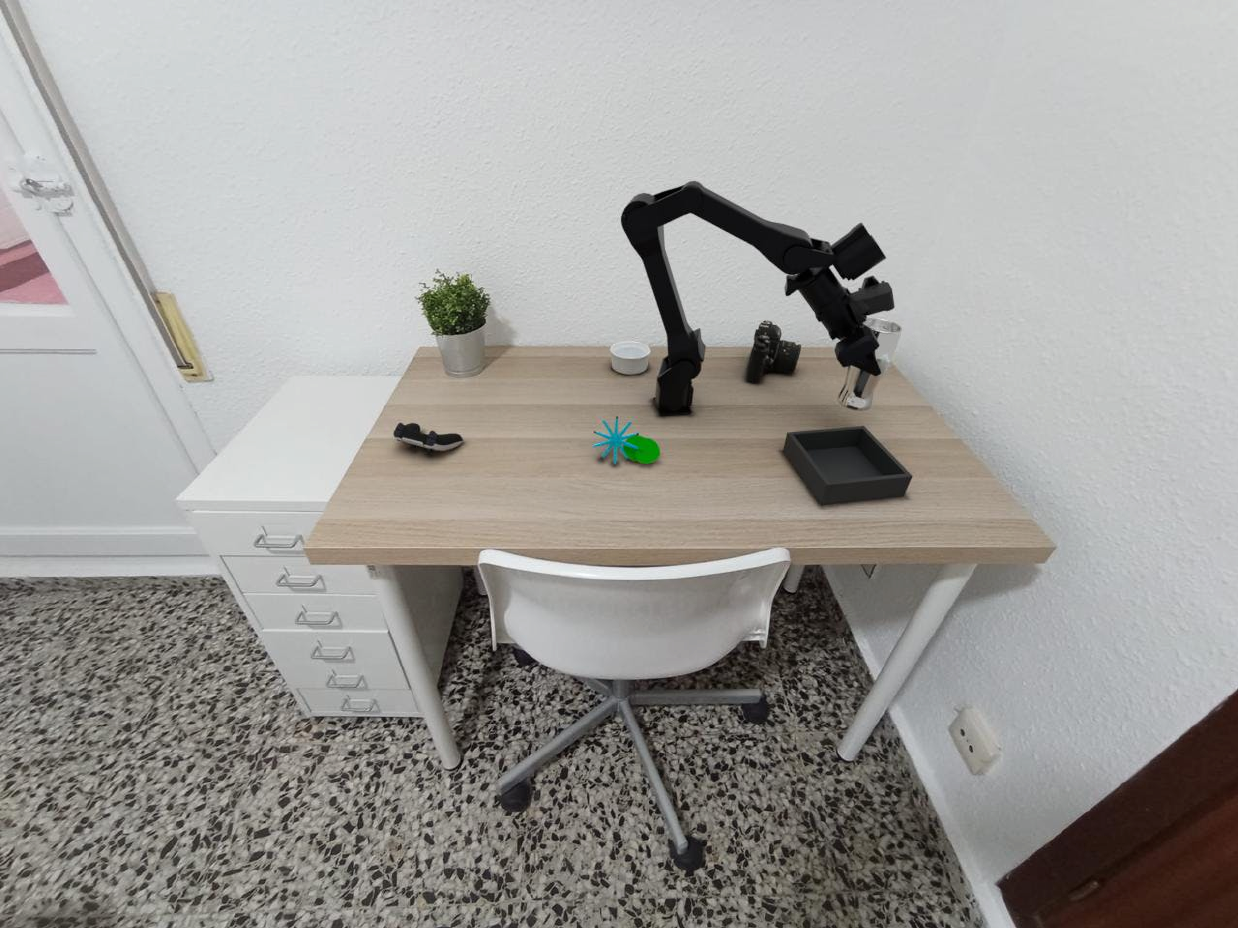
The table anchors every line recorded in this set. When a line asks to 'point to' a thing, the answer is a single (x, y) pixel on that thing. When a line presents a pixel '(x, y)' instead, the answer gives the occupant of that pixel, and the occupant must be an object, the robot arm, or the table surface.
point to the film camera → (771, 353)
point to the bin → (845, 465)
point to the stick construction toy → (630, 445)
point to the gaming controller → (426, 438)
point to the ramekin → (629, 357)
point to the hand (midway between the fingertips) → (874, 365)
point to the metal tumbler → (861, 383)
